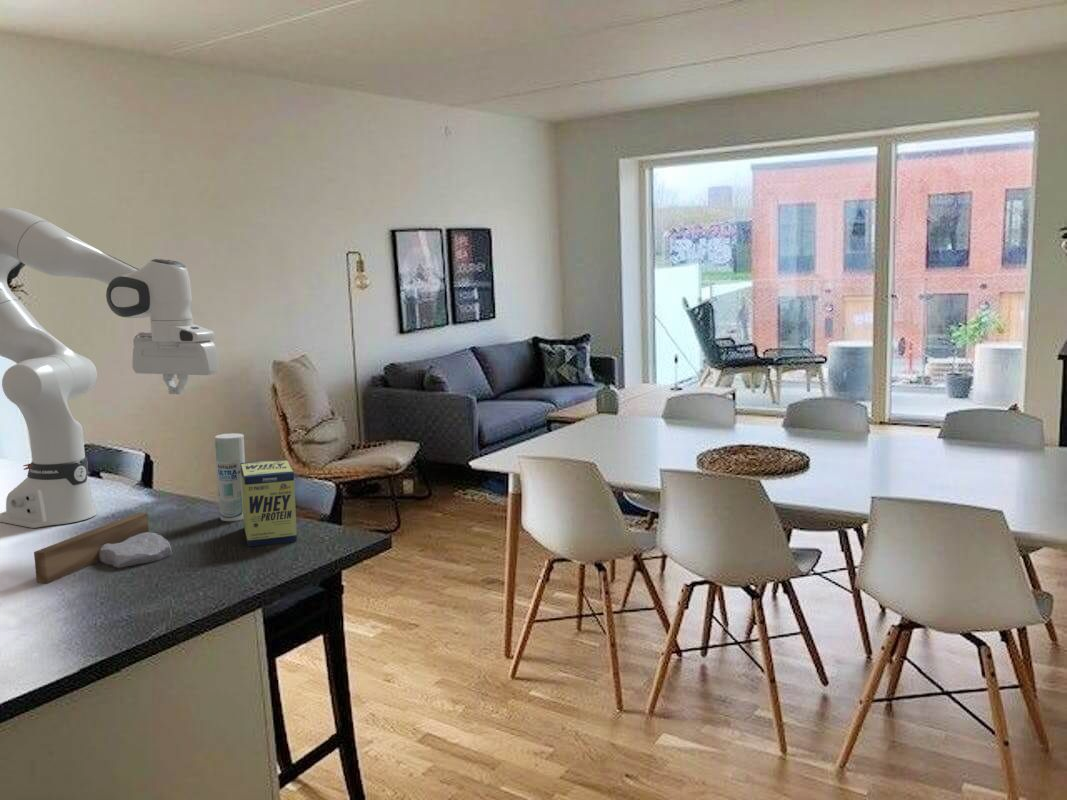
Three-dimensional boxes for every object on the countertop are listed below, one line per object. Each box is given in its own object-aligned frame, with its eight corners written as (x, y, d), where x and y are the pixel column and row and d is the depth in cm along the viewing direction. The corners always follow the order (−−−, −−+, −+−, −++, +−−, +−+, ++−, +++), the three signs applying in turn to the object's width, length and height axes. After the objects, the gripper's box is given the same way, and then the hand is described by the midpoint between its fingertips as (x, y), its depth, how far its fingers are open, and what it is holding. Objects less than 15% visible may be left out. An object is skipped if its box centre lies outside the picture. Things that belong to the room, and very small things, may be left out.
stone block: (177, 563, 179) (151, 546, 185) (177, 543, 178) (151, 525, 183) (122, 582, 170) (96, 562, 175) (122, 560, 169) (95, 541, 174)
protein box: (247, 547, 184) (243, 476, 181) (243, 528, 198) (239, 462, 196) (298, 541, 187) (294, 472, 185) (290, 523, 202) (286, 458, 200)
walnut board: (36, 582, 163) (33, 551, 162) (139, 538, 190) (137, 512, 189) (47, 583, 162) (44, 553, 162) (149, 539, 189) (147, 513, 188)
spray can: (215, 521, 203) (210, 438, 200) (225, 513, 210) (221, 433, 207) (242, 521, 203) (237, 438, 200) (252, 513, 209) (247, 433, 207)
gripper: (123, 333, 191) (127, 394, 193) (202, 334, 186) (206, 397, 188) (143, 331, 198) (147, 391, 199) (220, 332, 192) (224, 393, 194)
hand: (176, 394), depth 194 cm, fingers closed
